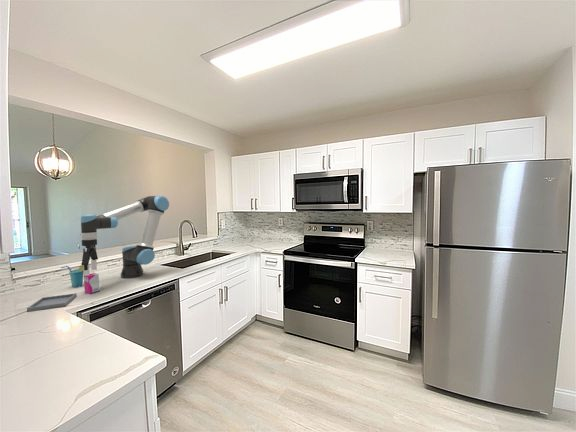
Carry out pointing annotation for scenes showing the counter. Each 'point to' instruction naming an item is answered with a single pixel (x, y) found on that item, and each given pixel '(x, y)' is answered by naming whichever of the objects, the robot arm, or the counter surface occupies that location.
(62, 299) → the tray
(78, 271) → the cup
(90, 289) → the supplement box
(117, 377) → the counter surface
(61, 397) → the counter surface
